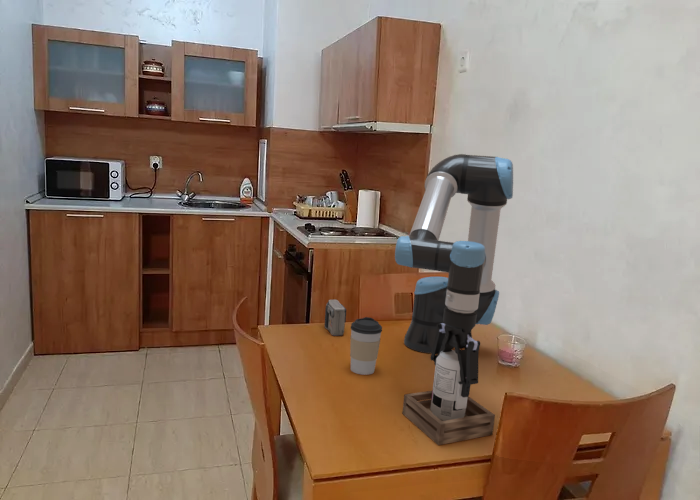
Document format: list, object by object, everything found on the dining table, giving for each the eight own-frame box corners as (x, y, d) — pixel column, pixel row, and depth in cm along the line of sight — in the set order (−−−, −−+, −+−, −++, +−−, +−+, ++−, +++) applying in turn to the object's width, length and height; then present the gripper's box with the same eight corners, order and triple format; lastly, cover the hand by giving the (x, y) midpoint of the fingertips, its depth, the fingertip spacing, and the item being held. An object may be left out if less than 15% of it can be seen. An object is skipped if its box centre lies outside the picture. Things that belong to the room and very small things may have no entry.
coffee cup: (375, 378, 157) (380, 327, 155) (343, 373, 159) (348, 322, 156) (380, 366, 166) (384, 318, 163) (350, 361, 168) (354, 314, 165)
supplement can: (426, 405, 138) (433, 348, 135) (459, 407, 139) (466, 350, 136) (434, 422, 130) (441, 361, 127) (468, 423, 131) (477, 363, 128)
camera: (323, 325, 199) (325, 298, 197) (338, 325, 200) (341, 298, 199) (329, 336, 188) (331, 308, 186) (346, 336, 190) (348, 308, 188)
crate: (453, 405, 145) (455, 387, 144) (492, 434, 131) (495, 414, 130) (402, 413, 138) (404, 394, 137) (438, 445, 124) (440, 424, 124)
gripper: (422, 296, 137) (412, 383, 141) (476, 324, 119) (463, 422, 123) (447, 295, 140) (437, 380, 144) (504, 321, 122) (490, 418, 126)
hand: (449, 399), depth 134 cm, fingers closed on supplement can, 8 cm apart
